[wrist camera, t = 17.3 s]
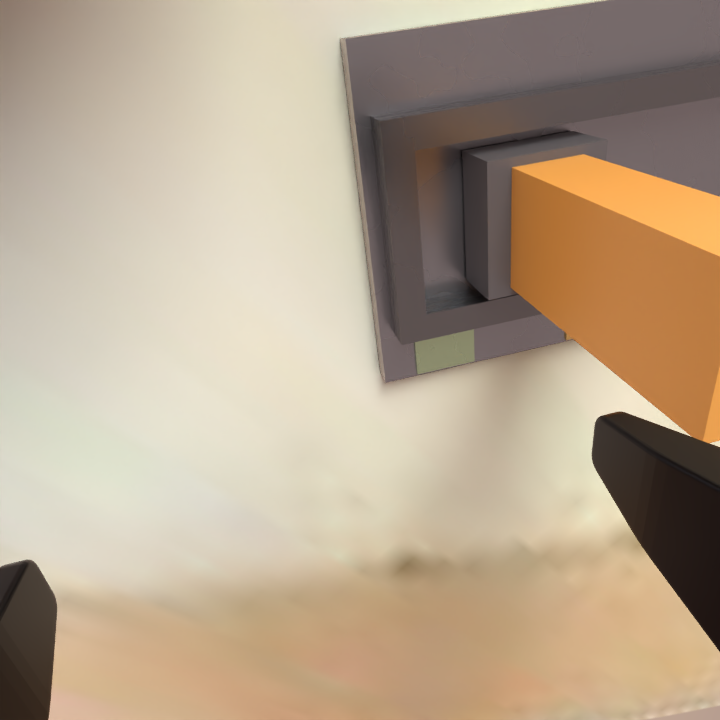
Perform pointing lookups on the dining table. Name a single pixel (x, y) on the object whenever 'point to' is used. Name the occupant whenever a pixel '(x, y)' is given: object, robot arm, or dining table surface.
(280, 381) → the dining table surface
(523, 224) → the breaker toggle
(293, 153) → the dining table surface
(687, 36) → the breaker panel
